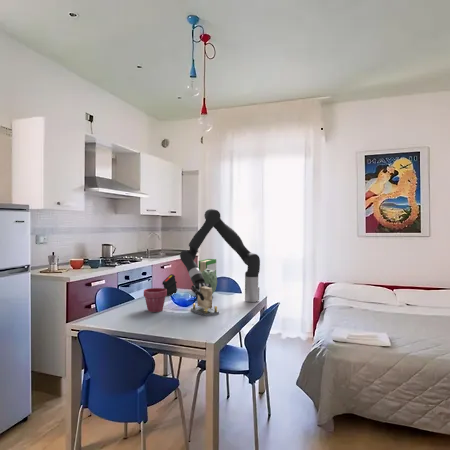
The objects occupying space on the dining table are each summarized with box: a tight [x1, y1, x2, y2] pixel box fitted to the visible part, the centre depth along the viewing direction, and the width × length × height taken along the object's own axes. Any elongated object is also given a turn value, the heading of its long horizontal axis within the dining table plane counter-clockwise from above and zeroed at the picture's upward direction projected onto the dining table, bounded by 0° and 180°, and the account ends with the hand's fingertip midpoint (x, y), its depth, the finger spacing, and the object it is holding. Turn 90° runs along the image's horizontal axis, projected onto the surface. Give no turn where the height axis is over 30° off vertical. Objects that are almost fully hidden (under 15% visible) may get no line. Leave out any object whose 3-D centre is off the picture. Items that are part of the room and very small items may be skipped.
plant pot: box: [143, 287, 168, 313], centre depth 223 cm, size 14×14×13 cm
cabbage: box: [202, 269, 218, 295], centre depth 266 cm, size 16×19×20 cm
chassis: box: [190, 302, 220, 317], centre depth 220 cm, size 10×16×4 cm, turn 36°
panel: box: [197, 286, 213, 309], centre depth 220 cm, size 4×10×12 cm, turn 36°
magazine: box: [161, 274, 178, 297], centre depth 270 cm, size 4×13×15 cm, turn 149°
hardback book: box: [198, 258, 217, 275], centre depth 292 cm, size 18×7×24 cm, turn 158°
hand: (206, 299), depth 218 cm, fingers closed on panel, 4 cm apart
